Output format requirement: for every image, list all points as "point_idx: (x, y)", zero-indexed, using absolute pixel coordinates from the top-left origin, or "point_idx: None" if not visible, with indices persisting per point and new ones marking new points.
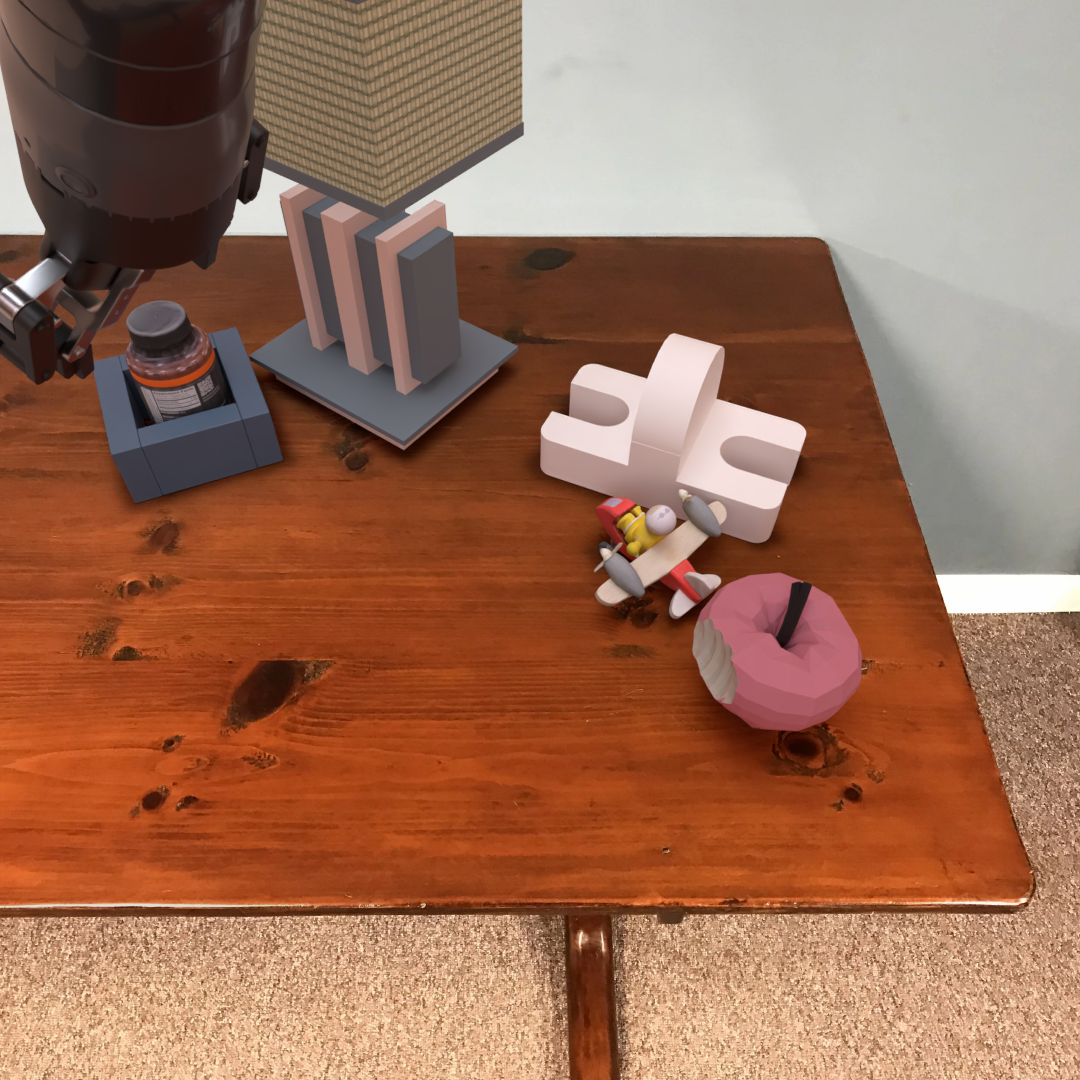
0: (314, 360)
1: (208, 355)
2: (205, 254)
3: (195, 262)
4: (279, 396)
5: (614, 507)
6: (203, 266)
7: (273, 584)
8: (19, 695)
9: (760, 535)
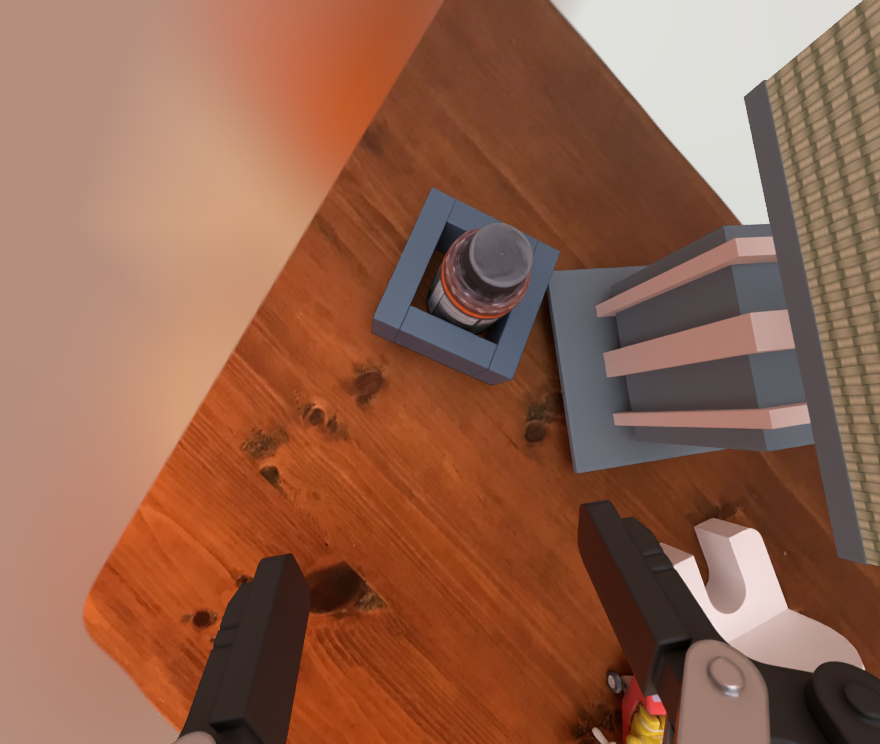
0: (585, 323)
1: (512, 308)
2: (604, 603)
3: (579, 535)
4: None
5: (654, 702)
6: (583, 557)
7: (400, 499)
8: (183, 447)
9: None
